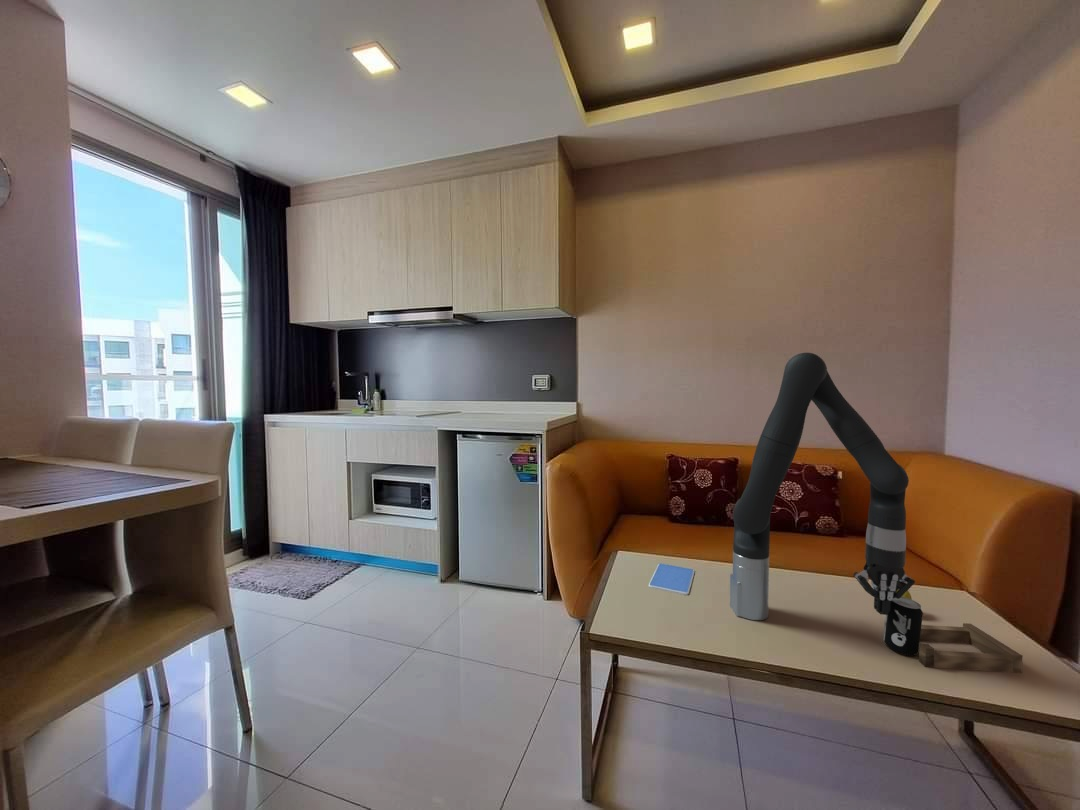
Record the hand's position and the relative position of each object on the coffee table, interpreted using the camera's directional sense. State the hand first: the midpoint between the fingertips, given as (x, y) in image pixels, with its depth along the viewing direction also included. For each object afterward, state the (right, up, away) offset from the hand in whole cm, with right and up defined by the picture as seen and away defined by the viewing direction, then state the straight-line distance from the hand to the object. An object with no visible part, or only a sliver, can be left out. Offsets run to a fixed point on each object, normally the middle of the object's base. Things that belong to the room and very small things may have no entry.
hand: (881, 612), depth 102 cm
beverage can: (+5, -9, 0) cm, 10 cm away
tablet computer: (-39, -8, +38) cm, 55 cm away
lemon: (+18, -8, +17) cm, 26 cm away
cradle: (+14, -9, -1) cm, 17 cm away
